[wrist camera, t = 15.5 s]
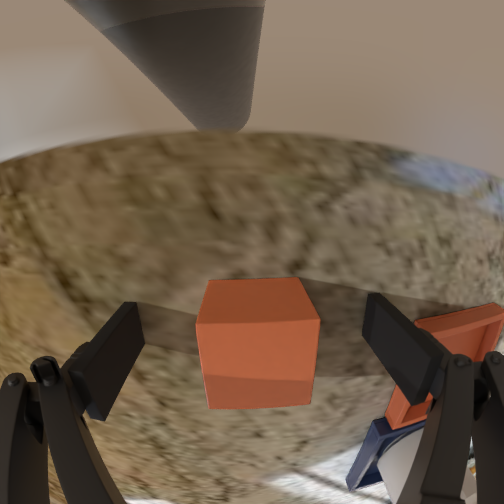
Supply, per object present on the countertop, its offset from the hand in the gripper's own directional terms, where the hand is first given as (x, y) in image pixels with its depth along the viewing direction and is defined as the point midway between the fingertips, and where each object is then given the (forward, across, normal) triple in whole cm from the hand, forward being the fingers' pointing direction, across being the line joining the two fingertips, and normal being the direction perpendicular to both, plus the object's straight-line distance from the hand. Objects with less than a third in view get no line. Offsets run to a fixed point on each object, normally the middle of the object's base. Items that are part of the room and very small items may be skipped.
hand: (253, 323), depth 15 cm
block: (0, 0, 0) cm, 0 cm away
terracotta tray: (0, +15, -6) cm, 16 cm away
